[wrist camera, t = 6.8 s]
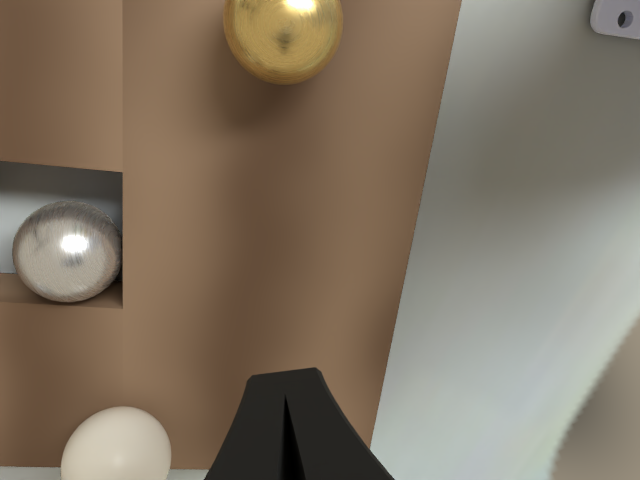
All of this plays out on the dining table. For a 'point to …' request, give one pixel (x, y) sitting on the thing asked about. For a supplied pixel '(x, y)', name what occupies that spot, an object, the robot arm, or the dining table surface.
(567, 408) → the dining table surface
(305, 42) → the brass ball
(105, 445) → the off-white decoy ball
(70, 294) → the steel ball
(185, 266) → the walnut board
